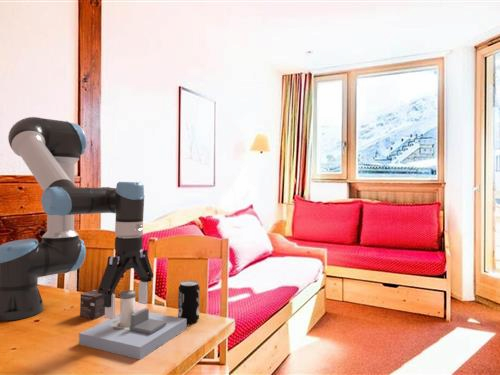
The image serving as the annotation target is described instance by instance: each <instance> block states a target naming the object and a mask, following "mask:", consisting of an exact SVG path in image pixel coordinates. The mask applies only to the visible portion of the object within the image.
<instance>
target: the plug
mask: <svg viewBox="0 0 500 375" xmlns="http://www.w3.org/2000/svg"><path fill="white" fill-rule="evenodd" d="M136 293H137V292H136V290H131V289H128V290H122V291H120V292H119V299H120V302H119V303H120V304H119V305H120V306H119V307H120V309H119V315H120V327H122V328H129V327H130V326H131V315H132V314H134V313H135V310H136V296H137V294H136Z"/></svg>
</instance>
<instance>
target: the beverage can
mask: <svg viewBox="0 0 500 375" xmlns="http://www.w3.org/2000/svg"><path fill="white" fill-rule="evenodd" d="M200 287H201V286H200V284H199V282H198V280H197V281H196V280H188V279H187V280H182V281H181V282H179V286H178V291H177V292H178V297H177V298H178V299H177V300H178V301H177V303H178V305H177V306H178V307H177V308H178V309H177V317H179V318H185V319H187V325H189V324H195V323H197V322H198V320H199V318H200V294H201V293H200V290H201V288H200Z"/></svg>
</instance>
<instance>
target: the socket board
mask: <svg viewBox="0 0 500 375" xmlns="http://www.w3.org/2000/svg"><path fill="white" fill-rule="evenodd" d="M140 310H141V309H135V313H136V312H138V311H140ZM149 319H154V320H159V321H165V322H166V325H165V326H163V327H162V328H160V329H158V330H156V331H155V332H153V333H151V334H149V333H144V332H140V331H135V330H130V327H129V328H122V327H120V314H118V315H117V316H116V315H115V319H113V320H112V319H108V320H106V321H102V322H101V323H98V324H96V325H94V326H92V327H90V328H87V329H86V330H84V331H81V332H79V333H78V345H80V346H83V347H88V348H91V349H95V350H96V349H97V350H98V351H99V350H100V351H105V352H109V353H112V354H116V355H120V356H125V357H129V358H133V359H135V360H136V359H137V360H142V359H143V358H145V357H146V356H148V355H149V354H151V353H152V352H154V351H155V350H157V349H159V347H161V346H163V345H164V344H166V343H167V342H169V341H170V340H173V339H174V338H175V337H176V336H178V335H180V334H181V333H182V332H184V331H185V330H187V325H188V324H187V319H185V318H179V317H178V316H174V315H167V314H161V313H157V312H152V311H149Z"/></svg>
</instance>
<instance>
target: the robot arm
mask: <svg viewBox="0 0 500 375" xmlns="http://www.w3.org/2000/svg"><path fill="white" fill-rule="evenodd" d="M7 139H8V144H9V147H10V148H11V150H12V151H13V153H14V154H15V155H17V156H19V157H21V159H22V161H23V162H24V163H25V165H26V167H27V168H28V169H29V171H30V173H31V175H32V176H33V177H34V178H35V180H36V181H37V183H38V185H39V187H40V188H41V189H42V194H41V198H40V199H41V205H42V210H43V211H44V213H45V214H46V215H47V216H46V218H47V219H46V227H47V228H46V232H45V233H43V235H42V236H41V242H39V240H38V239H37V238H26V239H18V240H12V241H8V242H5V243H2V244H0V322H3V321H4V322H5V321H8V322H9V321H16V320H22V319H26V318H30V317H33V316H36V315H39V314H40V313H42V312H43V311H44V301H43V299H42V298H43V297H42V296H41V295H42V294H41V293H40V290H39V287H38V280H39V278H43V277H47V276H53V275H58V274H68V273H70V272H74V271H77V270H79V269H80V268H81V266H83V264H84V263H85V262H84V261H85V258H86V253H87V250H86V248H87V247H86V245H85V241H84V240H83V239H81V238H80V234H79V233H78V232H77V231H76V230H75V216H76V215H91V214H92V215H93V214H115V223H114V224H115V225H114V226H115V227H114V230H115V231H114V234H115V236H116V237H115V238H114V250H115V251H116V256H111V255H110V256H107V264H106V267H105V269H104V272H103V275H102V278H101V281H100V283H99V286H98V289H97V290H98V294H103V295H104V307H105V315H104V318H105V319H108V320H109V319H112V320H113V319H115V317H116V314H115V313H116V312H115V311H116V294H114V292H115V290H116V289H117V286H118V285H119V282H120V281H121V279H122V277H123V275H124V274H125V273H126V272H127V271H129V270H131V269H133V270H134V271H135V273H136V275H137V276H138V278H139V279H140V280H139V281H138V296H137V300H138V302H137V303H138V304H142V305H147V304H148V291H149V283H150V282H152V280H153V279H152V278H154V273H153V269H152V267H151V263H150V261H149V257H148V256H149V255H148V249H143V242H144V241H143V240H144V239H143V238H144V237H143V236H142V235H144V210H145V208H144V207H145V190H144V188H145V185H144V184H143V183H142V182H140V181H136V182H134V181H118V182H117V183H116V186H115V187H116V188H115V187H109V186H106V187H104V186H103V187H88V186H87V187H83V186H81V187H80V186H79V187H78V186H76V185H75V178H76V177H75V169H76V168H75V167H76V166H75V165H76V163H77V162H78V161H80V156H82V155H83V154H85V152H86V148H87V137H86V132H85V131H84V129H83V128H82V127H81V125H79V123H78V124H77V123H74V122H70V121H68V120H65V121H63V120H57V119H50V118H43V117H36V116H29V117H24V118H22V119H20V120H18V121H16V123H14V124H13V125H12V127H11V128H10V130H9V132H8V136H7Z"/></svg>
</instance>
